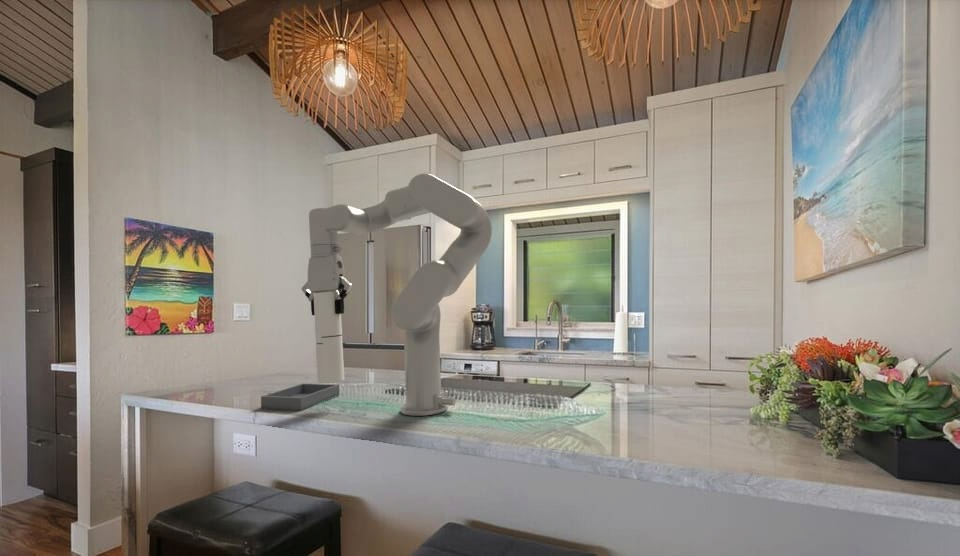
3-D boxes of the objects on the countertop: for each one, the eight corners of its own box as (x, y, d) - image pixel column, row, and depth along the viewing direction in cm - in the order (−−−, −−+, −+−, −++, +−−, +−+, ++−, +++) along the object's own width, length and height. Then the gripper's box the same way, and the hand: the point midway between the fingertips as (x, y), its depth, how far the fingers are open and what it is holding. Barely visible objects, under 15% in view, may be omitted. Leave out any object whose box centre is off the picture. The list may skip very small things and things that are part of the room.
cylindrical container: (339, 382, 126) (334, 291, 126) (313, 383, 126) (309, 293, 127) (347, 377, 133) (343, 291, 134) (323, 378, 133) (319, 293, 134)
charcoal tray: (339, 395, 146) (339, 384, 146) (301, 410, 129) (301, 398, 129) (302, 394, 150) (302, 383, 150) (261, 408, 133) (260, 396, 133)
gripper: (358, 250, 131) (361, 312, 131) (307, 255, 137) (310, 314, 136) (343, 248, 124) (346, 314, 124) (290, 253, 129) (293, 316, 129)
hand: (327, 313), depth 130 cm, fingers closed on cylindrical container, 7 cm apart
